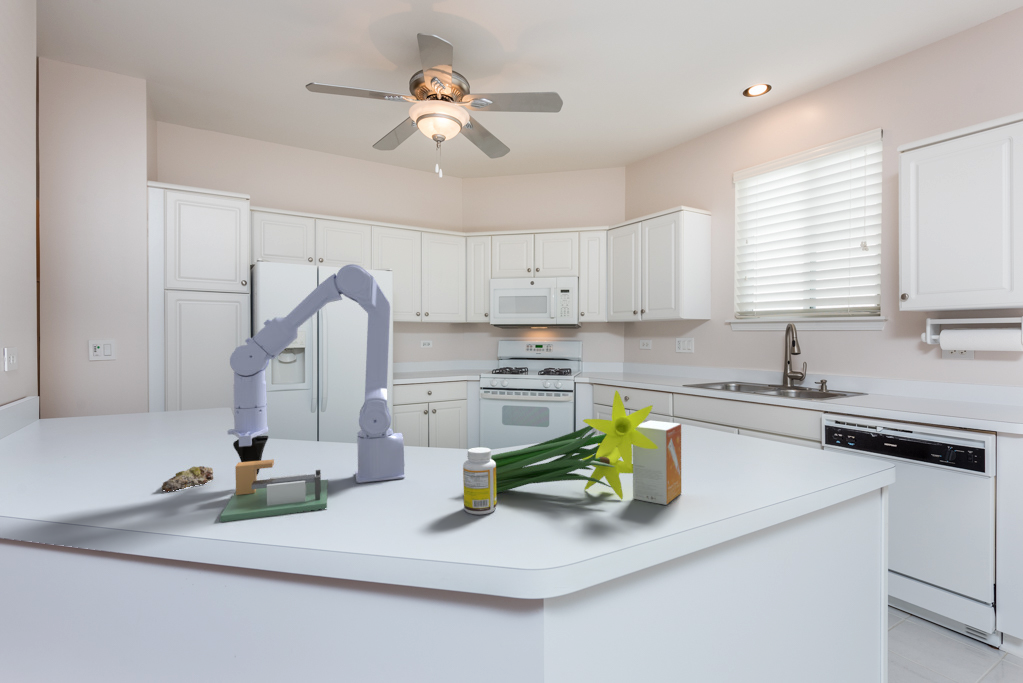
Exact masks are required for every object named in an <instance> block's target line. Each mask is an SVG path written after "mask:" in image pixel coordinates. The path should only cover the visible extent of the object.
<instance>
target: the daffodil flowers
mask: <svg viewBox="0 0 1023 683" xmlns="http://www.w3.org/2000/svg"><path fill="white" fill-rule="evenodd" d="M653 407H654V406H653V405H648V406H645V407H643V408H641V409H638V410H636V411H634V412H632V413H630V414H628V415H627V412H626V408H625V405H624V403H623V400H622V397H621V394H620V392H619V391H618V390H617V389H616V390H615V392H614V394H613V401H612V409H611V410H612V411H611V419H602V418H585V419H583V420H582V422H584V423H585V424H586V425H587V426H585V427H584V428H580V429H579V430H575V431H573V432H570V433H566V434H564V435H561V436H558V437H556V438H552V439H550V440H546V441H543V442H540V443H538V444H534V445H531V446H527V447H525V448H521V449H516V450H511V451H505V452H502V453H496V454H491V459H492V460H494V461H495V463H496V494H497V493H502V492H506V491H510V490H513V489H517V488H520V487H524V486H526V485H531V484H541V483H551V482H553V483H554V482H562V481H563V482H564V481H565V482H566V481H587V482H586V484H585V487H584V491H585V490H588V489H589V488H590V487H592V486H594V485H595V484H596V483H597V484H600V485H603V486H606V487H609V488H611V489H612V490H613V492H615V494H616V495H617V496H618V497H619V499H620V500H623V498H624V494H623V488H622V482H621V479H620V474H633V445H635V446H638V447H641V448H647V449H657V448H658V447H657V446H656V445H655V444H654V443H653V442H652V441H651V440H649V439H648V438H647V437H646V436H644V435H643V434H641V433H640V432H638V431H637V430H635V428H636V427H638V426H639V425H640V424H641V423H644V421H645V420H646V419H647V417H648V416H649V415H650V413H651V412H652V410H653ZM593 429H595V430H597V431H599V432H602V433H603V434H600V435H595V434H596V433H597V431H593V432H591V431H592V430H593ZM589 432H591V433H589ZM588 433H589V434H588ZM586 434H587V435H586ZM594 435H595V436H594ZM592 445H596V446H595V447H592V448H590V449H589V448H585V447H589V446H592ZM559 456H560V457H559ZM555 457H558V458H555ZM552 458H555V459H553V460H550V461H547V462H544V463H543V461H545V460H549V459H552ZM620 458H621V460H620ZM541 462H542V463H541ZM536 463H539V464H536ZM590 466H592V467H593V468H595V469H593V468H591V467H590ZM577 470H589V471H592V470H593V472H592V473H591V475H590V476H586V475H583V474H580V473H575V472H574V471H577ZM573 472H574V473H573ZM603 478H605V479H606V481H607V483H608V484H607V483H605V482H603V481H602V479H603Z"/></svg>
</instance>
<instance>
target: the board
mask: <svg viewBox="0 0 1023 683" xmlns="http://www.w3.org/2000/svg"><path fill="white" fill-rule="evenodd" d="M317 473H319V474H320V476H316V474H317ZM321 473H322V472H321V469H316V470H315V482H313V483H305V481H296V482H287V483H277V484H267V488H261V489H256V491H255V493H251V494H242V495H236V491H235V492H234V493H233V495H232V497H231V498H230V500H229V501H228V503H227V505H226V506H225V508H224V509H223V511H222V512H221V514H220V517H219V518H220V523H223V522H232V521H241V520H248V519H257V518H264V517H273V516H281V515H283V516H284V515H291V514H298V513H297V512H299V513H304V512H303V511H307V512H312V511H311V510H315V511H319V510H318V509H324V510H326V509H325V508H328V489H327V488H328V486H329V485H328V484H329V483H328V481H329V480H328V479H321ZM303 475H307V473H305V474H297V475H296V474H295V475H287V476H284V475H283V476H277V477H270V478H269V479H275V478H284V477H294V476H303ZM290 513H291V514H290Z"/></svg>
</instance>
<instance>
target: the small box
mask: <svg viewBox="0 0 1023 683" xmlns="http://www.w3.org/2000/svg"><path fill="white" fill-rule="evenodd" d="M635 430H637V431H638V432H640V433H641V434H643V435H644V436H646V437H647V438H648V439H649V440H651V441H652V442H653V443H654V444H655V445H656V446H657V447H658V448H657V449H647V448H641V447H638V446H635V445H633V444H632V464H633V473H632V498H633V499H635V500H637V501H643V502H649V503H653V504H660V505H665V506H667V505H668V504H669V503H670V502H671V501H673V500H674V499H676V498H677V497H678V496H679V495H681V494H682V423H678V422H669V421H660V420H658V421H657V420H651V419H650V420H648V421H645V422H642V423H641V424H640V425H639V426H638V427H636V428H635Z"/></svg>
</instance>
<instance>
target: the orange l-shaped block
mask: <svg viewBox="0 0 1023 683" xmlns="http://www.w3.org/2000/svg"><path fill="white" fill-rule="evenodd" d="M274 464H275V459H264V460H262V459H261V461H250V462H241V461H240V462H238V463H237V464H236V465H235V492H236V495H242V494H251V493H255V491H256V489H252V487H251V485H252V483H253V481H257V479H258V475H257V469H261V470H262V469H270V468H271V469H272V468H273V466H274Z"/></svg>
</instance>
